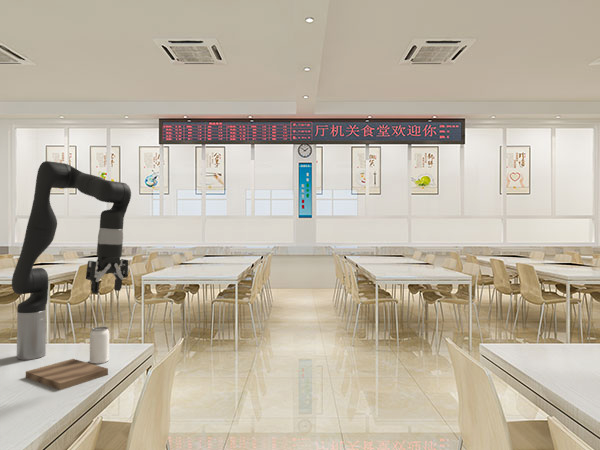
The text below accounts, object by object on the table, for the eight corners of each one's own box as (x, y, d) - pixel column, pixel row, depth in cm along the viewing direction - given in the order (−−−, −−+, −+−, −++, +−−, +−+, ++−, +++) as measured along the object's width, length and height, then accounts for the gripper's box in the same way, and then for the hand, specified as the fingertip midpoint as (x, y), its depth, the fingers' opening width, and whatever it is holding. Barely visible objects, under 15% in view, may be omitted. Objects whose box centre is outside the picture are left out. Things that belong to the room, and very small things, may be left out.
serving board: (25, 377, 142) (25, 371, 142) (73, 364, 155) (73, 358, 155) (60, 390, 131) (60, 383, 131) (107, 374, 145) (107, 368, 145)
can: (101, 364, 155) (101, 331, 155) (85, 363, 156) (85, 330, 156) (112, 359, 161) (113, 327, 161) (97, 358, 162) (97, 326, 162)
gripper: (120, 241, 150) (116, 288, 150) (83, 241, 137) (79, 292, 137) (135, 243, 146) (132, 291, 146) (99, 243, 134) (95, 296, 134)
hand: (106, 291), depth 142 cm, fingers open, 8 cm apart
